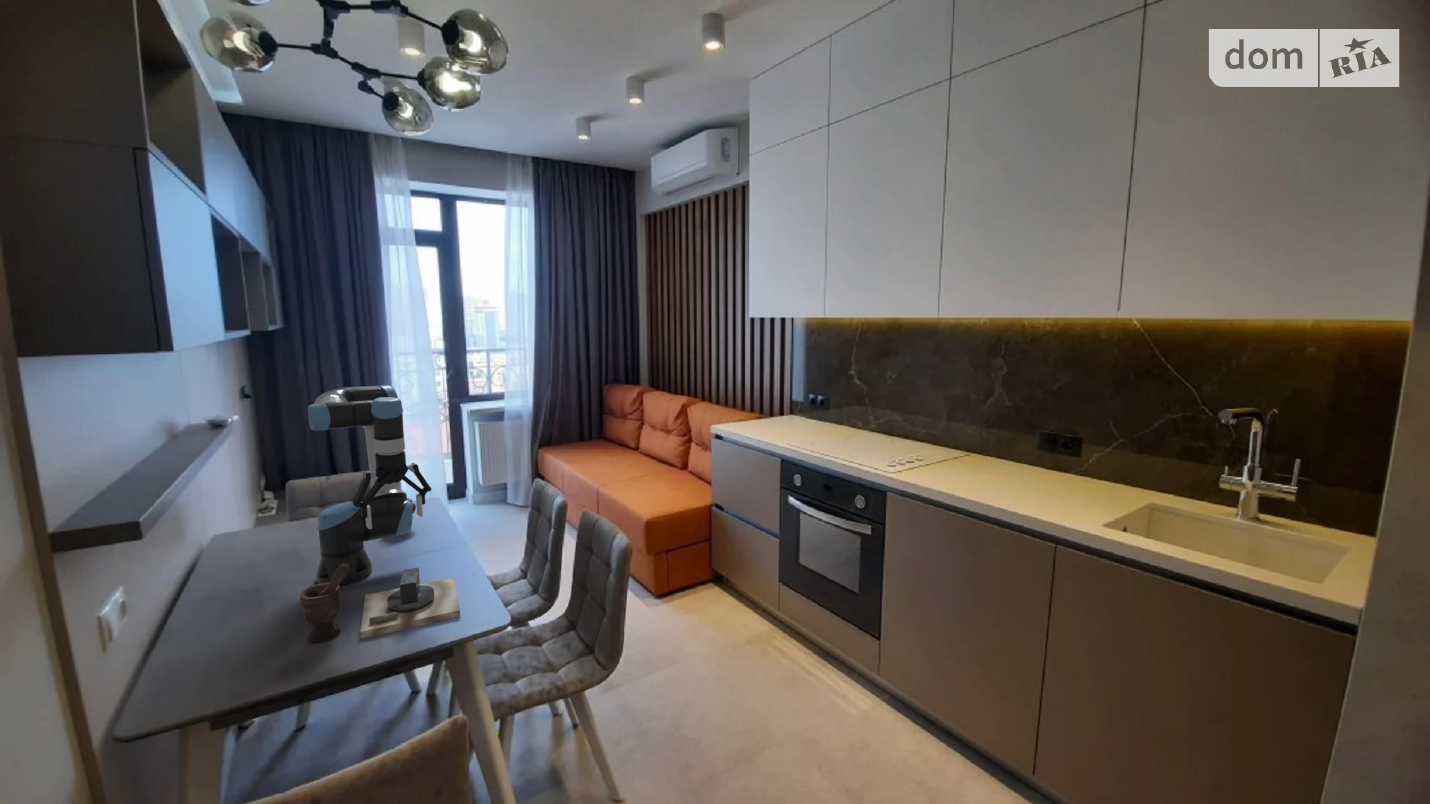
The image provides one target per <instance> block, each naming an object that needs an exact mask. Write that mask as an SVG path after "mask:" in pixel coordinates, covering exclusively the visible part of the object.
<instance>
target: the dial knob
mask: <svg viewBox="0 0 1430 804" xmlns="http://www.w3.org/2000/svg"><path fill="white" fill-rule="evenodd" d="M420 581H421V579H420V567H413V568H405V569H403V571H402V574H401V579H400V583H399V588H400V590H398V591H396V592H394V593H392V594H391V595H390V596H389V597H388V599H387V605H388V609H389V610H390V611H392V612H398V613H404V612H411V611H415V610H419V609H421V608H424V607H426V606H427V605H429V604H430V603H432V602H433V600H434V589H433V588H432V587H430V586H425V585H420V584H421V582H420Z"/></svg>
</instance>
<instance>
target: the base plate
mask: <svg viewBox="0 0 1430 804" xmlns="http://www.w3.org/2000/svg"><path fill="white" fill-rule="evenodd" d="M420 585H425V586H430V587H432V588H433V589H434V600H433V602H432V603H430V604H429V605H427V606H426V607H424V608H421V609H419V610H415V611H411V612H404V613H398V612H392V611H390V610H389V609H388V605H387V599H388V597H389V596H390V595H391V594H392V593H394V592H396V591H398V590H400V587H398V588H393V589H389V590H383V591H379V592H373V593H367V594H365V595H364V602H363V609H362V616H361V625H360V631H359V633H360V639H361V638H362V639H366V638H365V637H367V638H370V637H375V635H376V636H379V635H378V634H380V635H383V634H388V633H393V632H399V631H402V630H407V629H411V628H416V627H420V626H425V625H429V624H433V623H438V621H439V622H443V621H447V620H452V619H456V618H455V617H457V618H461V610H460V603H459V598H458V593H457V592H458V591H457V586H456V581H455V577H451V578H447V579H441V580H435V581H431V582H424V583H420Z"/></svg>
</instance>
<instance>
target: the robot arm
mask: <svg viewBox="0 0 1430 804" xmlns="http://www.w3.org/2000/svg"><path fill="white" fill-rule="evenodd" d="M314 400H315V401H314V403H313V404H309V405H308V406H307V414H308V415H307V416H308V423H309V424H308V425H309V429H310V430H312V431H327V430H337V429H346V428H347V429H348V428H363V429H364V434H365V435H364V437H365V444H366V454H367V463H368V470H365V471H363V474H362V481H361V483H360V485H359V487H358V489H357V492H356V494H355V496H354V497H353V500H352V501H346V502H341V503H338V504H334V505H332V506H329V507H327V508H325V509H323V510H322V511H320V513H319V514H318V516H317V530H318V538H319V540H318V541H319V548H320V549H319V550H320V560H319V563H318V566H317V570H316V574H315V577H316V580H315V581H316V583H317V584H320V583H327V582H330V581H331V579H332V577H333V575H334V573H335V572H336V570H337V568H338V567H339V566H340V565H341V564H344V563H345V564H348V565H350V567H351V568H350V571H349V573H348V574H347V575H346V576H345V577H344V579H343V580H342V581H341V582H340V583H339V585H340V586H342V585H347V584H352V583H355V582H358V581H360V580H362V579H365V578H366V577H368V576H369V575H370V574H371V573H372V571H373V567H372V566H373V564H372V561H371V560H370V558H369V555H368V554H367V552H366V550H365V547H364V543H365V542H370V541H371V542H372V541H375V540H376V541H377V540H380V539H386V538H391V537H397V536H401V535H402V536H403V535H406V534H408V533H410V531H411V530H412V526H413V518H414V517H413V515H414V513H413V503H414V502H413V499H412V498H410V497H408V495H407V492H405V491H403V490H402V488H401V481H404V482H405V483H406V484H407V485H409V486H410V488H412V489H414V490H415V491H416V492H417V493H415V502H416V503H415V505H416V515H417V516H419V517H420V518H421V517H424V515H423V514H424V511H423V509H424V508H423V505H426V495H427V493H428V492H432V487H431V486H430V484H429V483H428V482H427V480H426V479H425V477H424V476H423V475H422V472H421V471H420V467H419V465H418V464H417V463H415V462H412V463H411V464H408V465H407V460H406V458H407V457H406V451H405V449H406V445H405V442H406V441H405V434H404V432H405V431H404V418H403V417H404V416H403V413H404V408H403V404H402V400H401V399H400V398H399V396H398V393H397V391H396V388H394V387H393V386H392V385H387V384H386V385H380V384H378V385H367V386H366V385H364V386H362V385H361V386H345V387H338V388H333V389H330V390H328V391H324V392H323V393H321V394H319V396H317V397H316V399H314ZM408 471H410V472H413V475H414V476H415V477H416V479H417V480H418V482H419V483H420V485H421V486H422V488H421V487H420V486H419V485H417V484H416V483H415V482H414V481H412V480H411V479H409V478H408V477H407V476H406V474H407V472H408ZM369 486H370V489H369V490H368V488H369Z"/></svg>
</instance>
